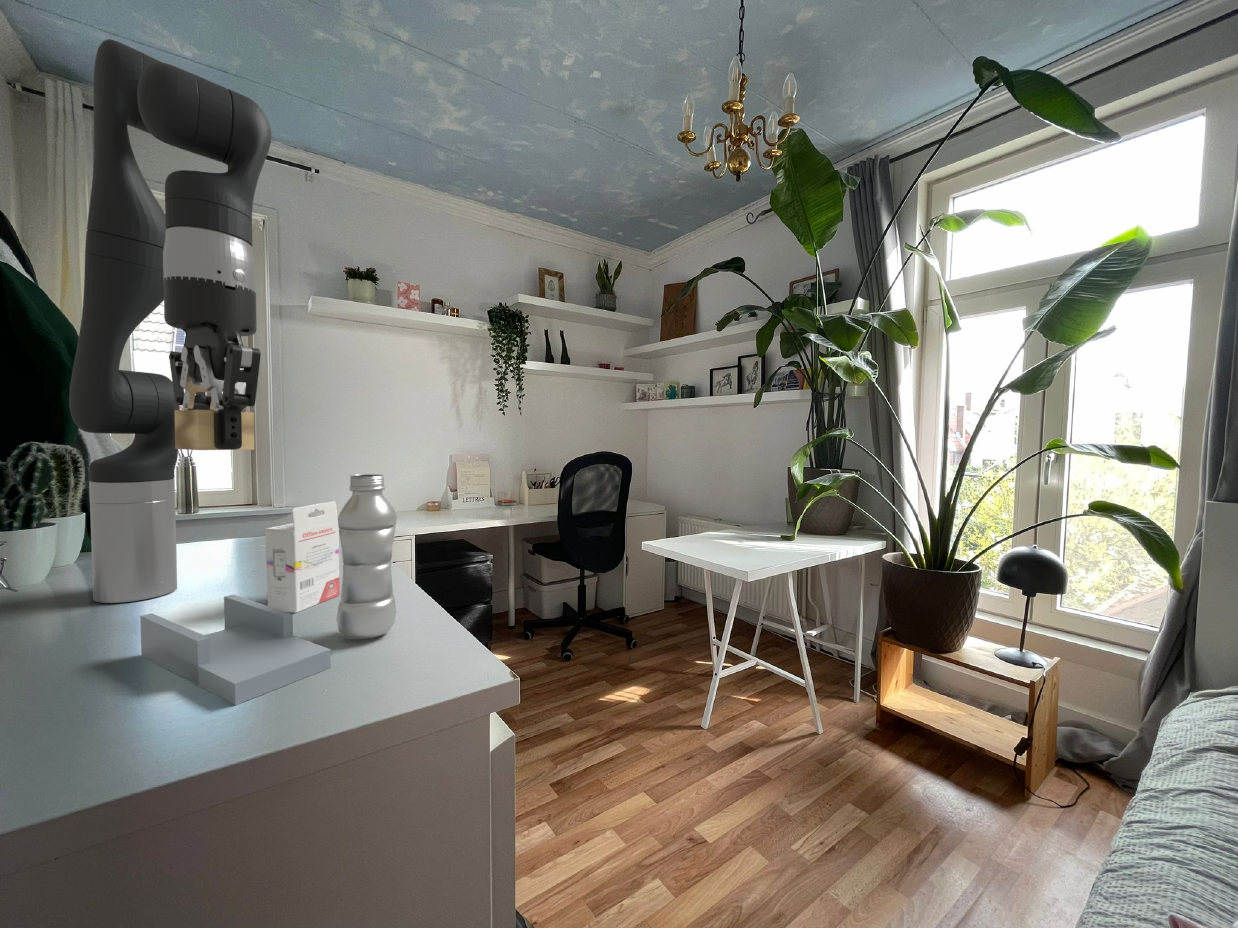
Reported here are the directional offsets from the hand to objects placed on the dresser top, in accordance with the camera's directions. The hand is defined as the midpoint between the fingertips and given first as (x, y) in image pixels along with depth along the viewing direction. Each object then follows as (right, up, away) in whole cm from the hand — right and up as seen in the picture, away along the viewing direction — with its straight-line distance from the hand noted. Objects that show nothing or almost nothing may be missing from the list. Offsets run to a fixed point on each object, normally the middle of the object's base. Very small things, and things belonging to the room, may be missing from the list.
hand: (214, 447), depth 54 cm
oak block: (0, 0, 0) cm, 0 cm away
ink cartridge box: (-3, -22, +21) cm, 31 cm away
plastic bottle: (+11, -23, +10) cm, 28 cm away
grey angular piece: (+1, -23, +2) cm, 23 cm away
